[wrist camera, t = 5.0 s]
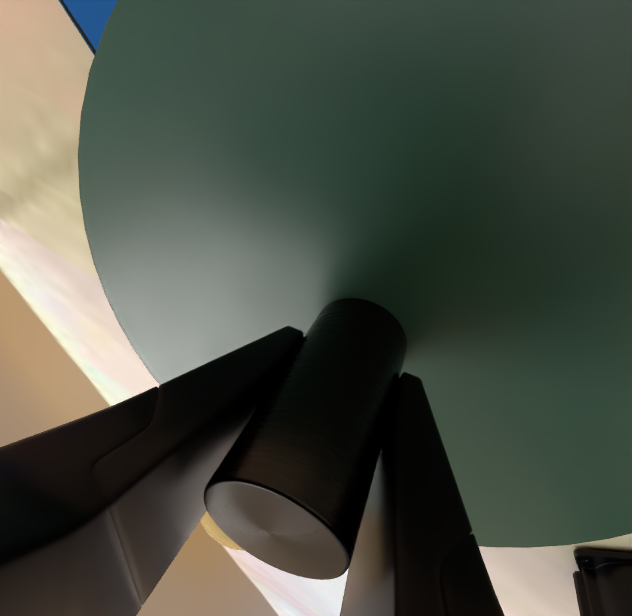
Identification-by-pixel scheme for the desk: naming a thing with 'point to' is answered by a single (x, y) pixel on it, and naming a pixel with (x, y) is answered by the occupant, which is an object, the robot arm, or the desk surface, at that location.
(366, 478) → the tin lid
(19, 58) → the desk surface
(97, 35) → the smartphone
